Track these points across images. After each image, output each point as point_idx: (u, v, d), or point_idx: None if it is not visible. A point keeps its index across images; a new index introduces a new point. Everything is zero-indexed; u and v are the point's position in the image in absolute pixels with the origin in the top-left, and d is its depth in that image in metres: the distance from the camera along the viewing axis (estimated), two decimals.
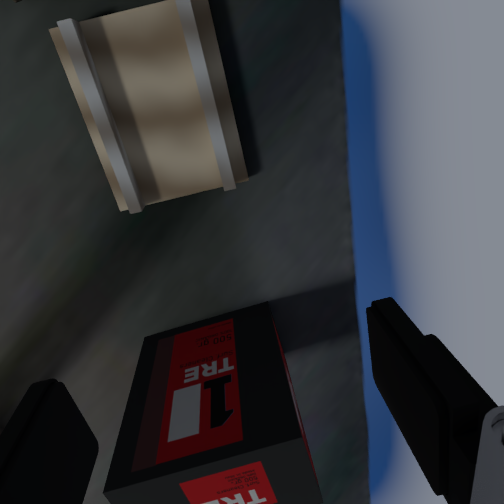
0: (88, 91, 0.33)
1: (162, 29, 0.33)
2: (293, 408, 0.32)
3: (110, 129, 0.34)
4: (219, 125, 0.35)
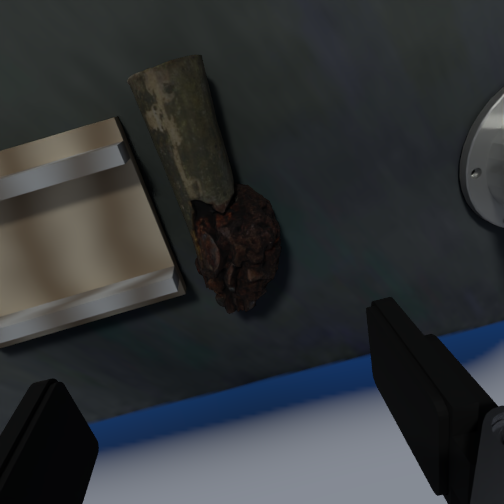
0: (36, 177, 0.23)
1: (140, 252, 0.28)
2: None
3: None
4: (38, 330, 0.28)
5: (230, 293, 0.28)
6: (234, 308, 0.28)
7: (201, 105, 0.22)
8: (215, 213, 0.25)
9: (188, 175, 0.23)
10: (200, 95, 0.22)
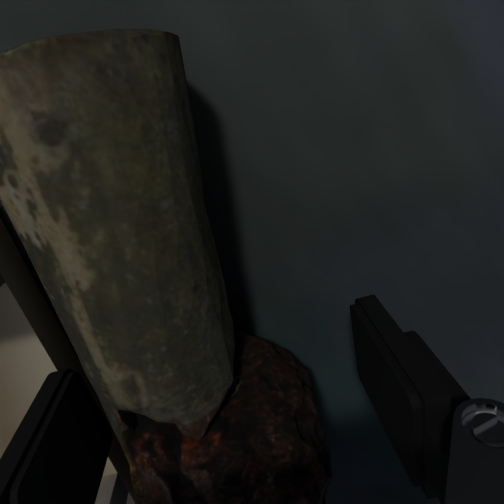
0: None
1: None
2: None
3: None
4: None
5: None
6: None
7: (160, 184, 0.07)
8: None
9: (112, 360, 0.09)
10: (159, 155, 0.07)
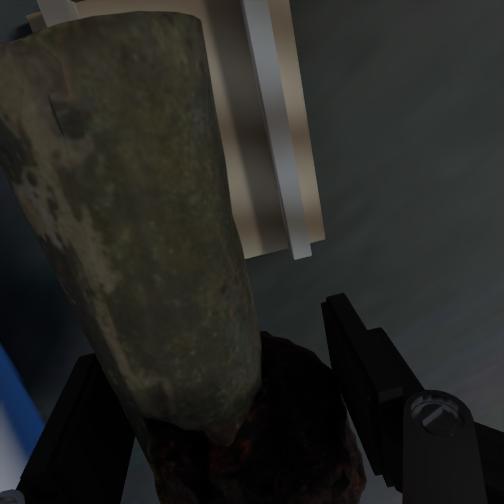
0: (290, 179, 0.23)
1: None
2: None
3: (269, 124, 0.21)
4: None
5: None
6: None
7: (187, 178, 0.07)
8: None
9: (138, 366, 0.08)
10: (186, 147, 0.07)
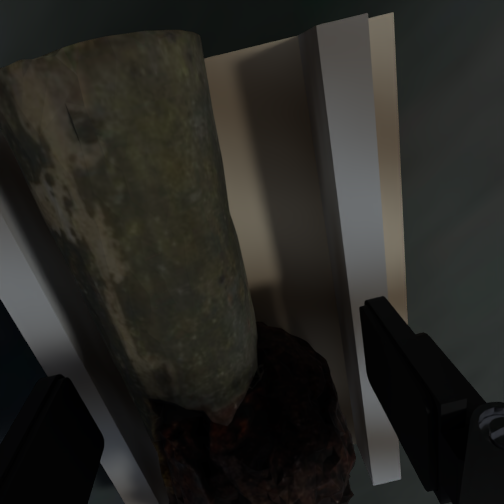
0: None
1: None
2: None
3: (355, 315, 0.12)
4: (30, 340, 0.11)
5: None
6: None
7: (189, 178, 0.08)
8: None
9: (144, 350, 0.09)
10: (187, 150, 0.08)
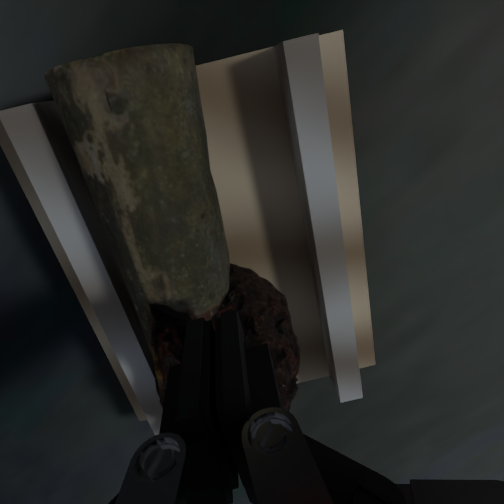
0: (342, 316, 0.17)
1: None
2: None
3: (319, 255, 0.16)
4: (77, 271, 0.15)
5: None
6: None
7: (182, 141, 0.12)
8: None
9: (147, 263, 0.13)
10: (181, 122, 0.11)
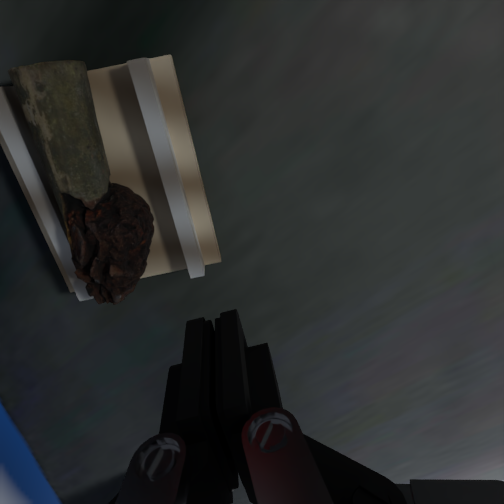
0: (182, 218, 0.30)
1: None
2: None
3: (163, 179, 0.28)
4: (25, 180, 0.27)
5: (98, 285, 0.29)
6: (103, 299, 0.30)
7: (74, 107, 0.24)
8: (87, 208, 0.27)
9: (58, 169, 0.25)
10: (74, 98, 0.24)
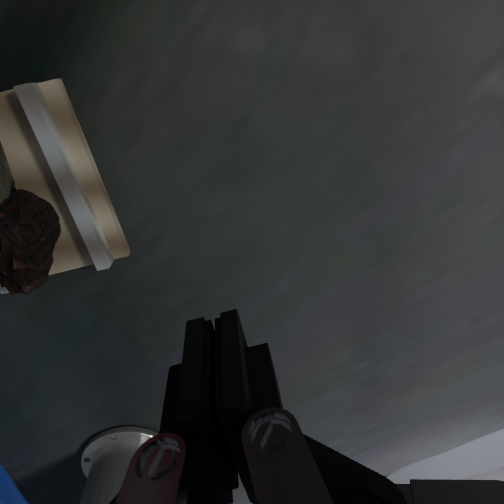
0: (82, 218, 0.34)
1: None
2: None
3: (59, 184, 0.33)
4: None
5: (9, 278, 0.34)
6: (16, 290, 0.35)
7: None
8: None
9: None
10: None
